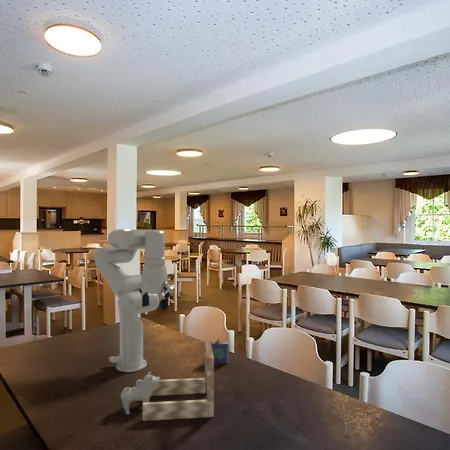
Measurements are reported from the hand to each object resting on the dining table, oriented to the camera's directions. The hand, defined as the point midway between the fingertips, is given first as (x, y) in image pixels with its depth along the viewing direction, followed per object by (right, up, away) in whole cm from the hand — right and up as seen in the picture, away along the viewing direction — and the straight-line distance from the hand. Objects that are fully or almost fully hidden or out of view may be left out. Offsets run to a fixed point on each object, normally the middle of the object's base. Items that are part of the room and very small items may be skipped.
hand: (155, 307), depth 131 cm
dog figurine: (-2, -29, -16) cm, 34 cm away
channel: (+11, -29, -15) cm, 35 cm away
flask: (+24, -29, +19) cm, 42 cm away
